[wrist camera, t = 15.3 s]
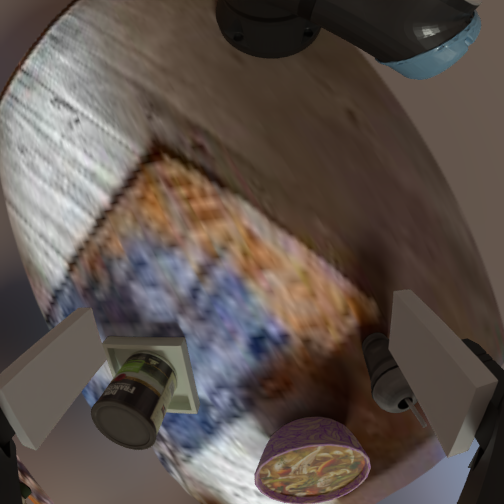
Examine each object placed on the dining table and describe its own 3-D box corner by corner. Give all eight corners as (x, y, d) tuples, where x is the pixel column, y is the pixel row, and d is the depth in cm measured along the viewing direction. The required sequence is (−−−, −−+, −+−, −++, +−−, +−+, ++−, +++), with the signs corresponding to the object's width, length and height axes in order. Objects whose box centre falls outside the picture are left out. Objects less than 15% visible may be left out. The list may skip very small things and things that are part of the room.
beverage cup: (359, 323, 48) (400, 406, 28) (400, 325, 47) (453, 401, 28) (349, 362, 49) (379, 449, 30) (388, 362, 49) (429, 443, 30)
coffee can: (114, 356, 51) (78, 404, 37) (161, 344, 50) (130, 397, 36) (141, 400, 53) (115, 451, 40) (188, 391, 52) (168, 448, 38)
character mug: (18, 483, 77) (5, 501, 65) (14, 476, 75) (1, 495, 63) (38, 496, 78) (26, 515, 65) (35, 490, 76) (22, 510, 63)
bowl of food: (372, 399, 51) (388, 442, 40) (341, 463, 57) (348, 503, 45) (265, 392, 52) (263, 439, 41) (251, 459, 57) (247, 501, 46)
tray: (108, 336, 51) (101, 343, 48) (185, 337, 50) (180, 345, 47) (129, 399, 55) (124, 407, 52) (200, 403, 53) (197, 413, 51)
